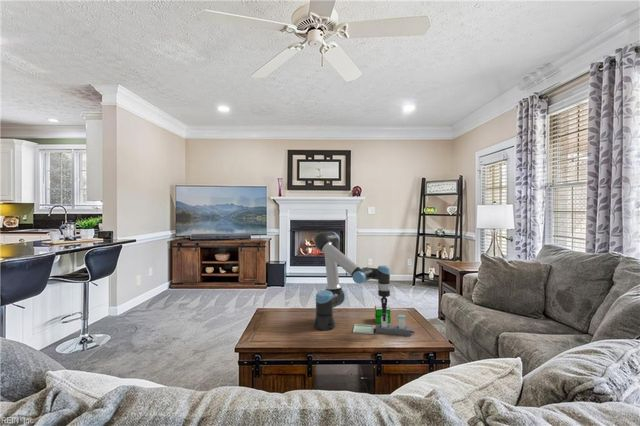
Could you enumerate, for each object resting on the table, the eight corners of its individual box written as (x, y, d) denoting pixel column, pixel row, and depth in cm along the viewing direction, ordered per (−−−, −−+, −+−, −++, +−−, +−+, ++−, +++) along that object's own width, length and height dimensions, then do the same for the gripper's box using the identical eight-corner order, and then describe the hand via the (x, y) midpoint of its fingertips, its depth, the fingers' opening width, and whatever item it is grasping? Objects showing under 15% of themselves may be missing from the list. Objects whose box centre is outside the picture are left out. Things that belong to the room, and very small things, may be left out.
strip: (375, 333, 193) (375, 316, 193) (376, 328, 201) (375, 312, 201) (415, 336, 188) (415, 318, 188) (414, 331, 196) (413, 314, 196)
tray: (352, 333, 194) (352, 331, 194) (354, 326, 207) (354, 324, 207) (373, 334, 191) (373, 332, 191) (374, 327, 204) (374, 325, 204)
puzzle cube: (388, 319, 220) (388, 305, 221) (390, 323, 210) (390, 309, 211) (374, 318, 221) (374, 305, 222) (376, 323, 211) (375, 309, 212)
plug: (381, 332, 194) (381, 315, 195) (381, 330, 199) (381, 313, 199) (387, 332, 194) (387, 316, 194) (387, 330, 198) (387, 314, 198)
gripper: (390, 294, 183) (390, 329, 183) (389, 285, 208) (390, 316, 208) (377, 294, 185) (378, 328, 185) (378, 285, 209) (378, 315, 209)
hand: (384, 322), depth 196 cm, fingers open, 13 cm apart
